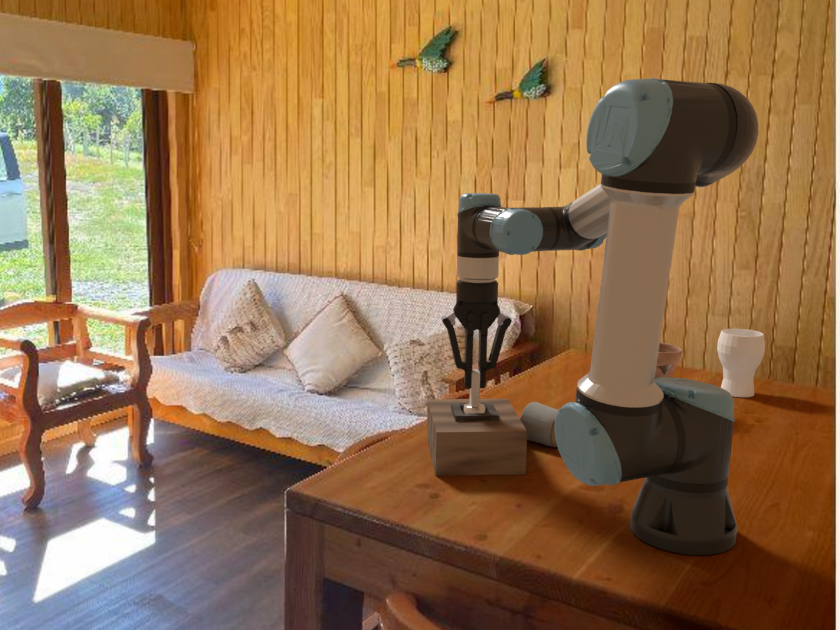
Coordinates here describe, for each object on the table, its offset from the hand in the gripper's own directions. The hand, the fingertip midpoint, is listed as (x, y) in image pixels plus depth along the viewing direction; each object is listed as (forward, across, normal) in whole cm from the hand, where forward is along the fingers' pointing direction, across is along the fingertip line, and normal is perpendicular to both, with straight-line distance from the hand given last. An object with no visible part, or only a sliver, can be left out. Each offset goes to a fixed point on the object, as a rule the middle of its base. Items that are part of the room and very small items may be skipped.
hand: (474, 404), depth 152 cm
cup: (+10, -70, -40) cm, 81 cm away
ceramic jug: (+10, -45, -30) cm, 55 cm away
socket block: (+10, 0, 0) cm, 10 cm away
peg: (+9, 0, 0) cm, 9 cm away
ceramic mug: (+10, -16, -7) cm, 20 cm away
